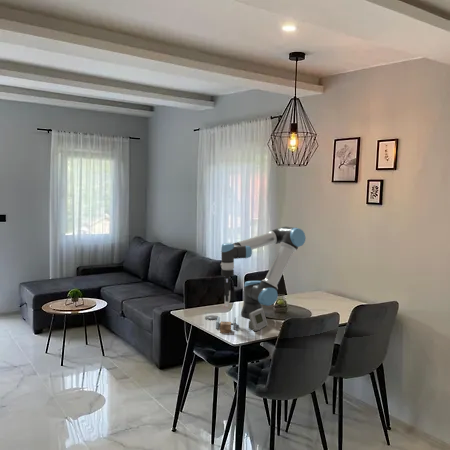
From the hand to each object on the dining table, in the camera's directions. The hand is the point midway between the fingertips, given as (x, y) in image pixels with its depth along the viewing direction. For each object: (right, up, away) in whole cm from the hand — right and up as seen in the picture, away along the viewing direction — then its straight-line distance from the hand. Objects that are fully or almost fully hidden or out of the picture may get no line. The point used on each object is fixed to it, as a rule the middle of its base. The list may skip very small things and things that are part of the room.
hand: (227, 303), depth 278 cm
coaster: (-10, -12, +16) cm, 23 cm away
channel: (-1, -13, -1) cm, 13 cm away
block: (-1, -14, -11) cm, 18 cm away
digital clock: (+18, -14, -4) cm, 24 cm away
